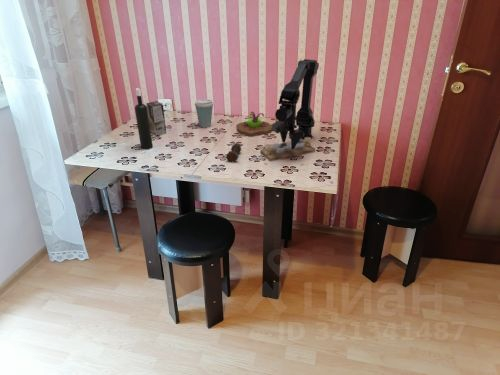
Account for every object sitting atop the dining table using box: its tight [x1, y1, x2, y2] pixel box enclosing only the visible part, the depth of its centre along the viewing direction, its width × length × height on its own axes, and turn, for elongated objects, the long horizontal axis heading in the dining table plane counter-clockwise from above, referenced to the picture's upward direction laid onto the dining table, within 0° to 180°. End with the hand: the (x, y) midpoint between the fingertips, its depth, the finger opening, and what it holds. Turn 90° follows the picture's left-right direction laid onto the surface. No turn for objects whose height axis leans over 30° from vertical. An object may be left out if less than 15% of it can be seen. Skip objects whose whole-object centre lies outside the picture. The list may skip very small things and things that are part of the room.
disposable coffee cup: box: [194, 98, 214, 129], centre depth 213 cm, size 11×11×15 cm
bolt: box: [225, 142, 242, 163], centre depth 179 cm, size 6×5×15 cm
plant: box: [235, 111, 274, 138], centre depth 208 cm, size 20×20×11 cm
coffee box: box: [145, 100, 167, 136], centre depth 205 cm, size 9×6×16 cm
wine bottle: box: [134, 87, 154, 150], centre depth 183 cm, size 6×6×30 cm
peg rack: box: [260, 137, 316, 162], centre depth 182 cm, size 25×10×6 cm, turn 114°
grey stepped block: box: [270, 139, 305, 155], centre depth 181 cm, size 16×6×3 cm, turn 114°
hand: (288, 145), depth 181 cm, fingers open, 9 cm apart
